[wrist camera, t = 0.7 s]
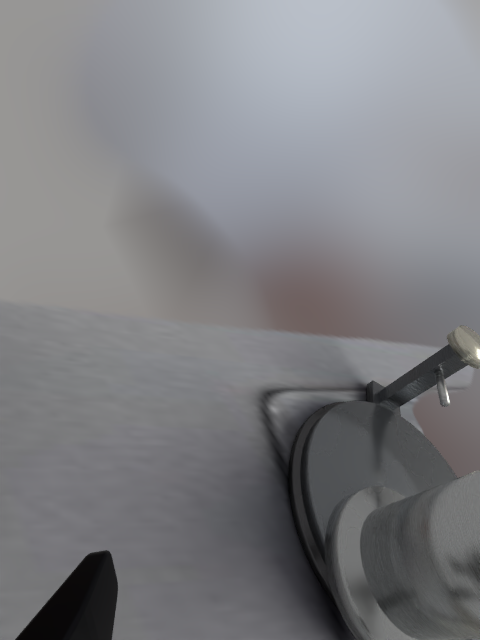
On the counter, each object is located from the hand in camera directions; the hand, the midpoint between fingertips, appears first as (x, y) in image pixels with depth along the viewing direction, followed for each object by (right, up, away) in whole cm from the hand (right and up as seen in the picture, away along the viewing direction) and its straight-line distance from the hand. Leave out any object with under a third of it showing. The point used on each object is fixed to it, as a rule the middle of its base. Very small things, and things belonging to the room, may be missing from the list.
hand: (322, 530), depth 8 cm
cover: (+7, -10, +13) cm, 18 cm away
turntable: (+9, -9, +18) cm, 22 cm away
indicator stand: (+11, -4, +24) cm, 27 cm away
